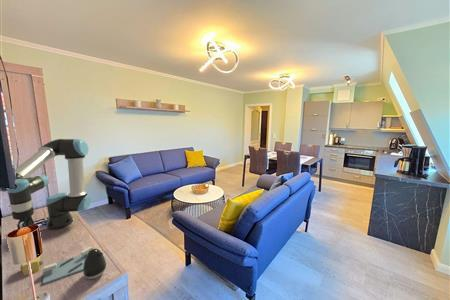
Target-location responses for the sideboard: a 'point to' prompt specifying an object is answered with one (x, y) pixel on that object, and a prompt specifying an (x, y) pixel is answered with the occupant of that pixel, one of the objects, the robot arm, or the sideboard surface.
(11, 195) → the robot arm
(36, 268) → the coupler
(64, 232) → the sideboard surface
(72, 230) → the sideboard surface
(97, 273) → the dark grey dome
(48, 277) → the shaft rig
